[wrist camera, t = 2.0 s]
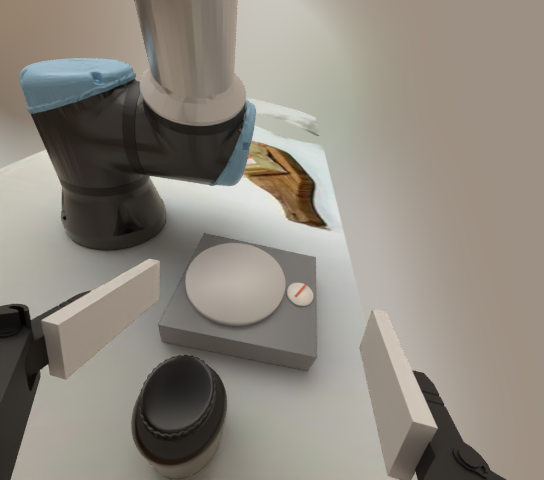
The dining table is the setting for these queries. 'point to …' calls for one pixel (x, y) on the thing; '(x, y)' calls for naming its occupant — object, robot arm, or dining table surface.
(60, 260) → the dining table surface
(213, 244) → the kitchen scale
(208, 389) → the supplement bottle
